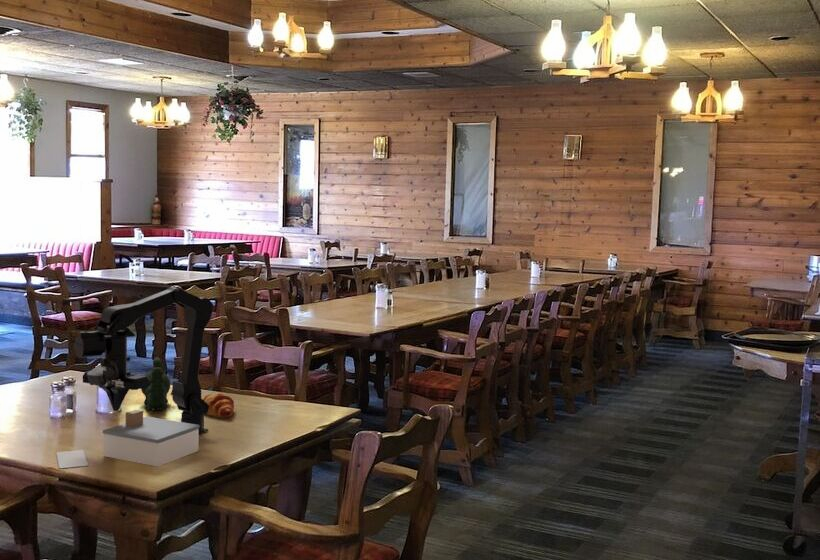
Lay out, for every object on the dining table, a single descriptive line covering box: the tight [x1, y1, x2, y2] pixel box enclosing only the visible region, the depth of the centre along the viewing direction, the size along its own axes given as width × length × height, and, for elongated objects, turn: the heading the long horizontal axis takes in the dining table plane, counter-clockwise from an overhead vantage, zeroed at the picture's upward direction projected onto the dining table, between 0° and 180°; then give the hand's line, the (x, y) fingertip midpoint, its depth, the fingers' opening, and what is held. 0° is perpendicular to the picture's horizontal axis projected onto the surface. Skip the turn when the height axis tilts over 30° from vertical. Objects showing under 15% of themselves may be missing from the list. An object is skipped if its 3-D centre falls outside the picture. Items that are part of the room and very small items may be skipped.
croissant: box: [202, 392, 235, 419], centre depth 274 cm, size 21×10×8 cm, turn 33°
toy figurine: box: [140, 356, 171, 412], centre depth 278 cm, size 9×19×25 cm
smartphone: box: [55, 449, 89, 470], centre depth 222 cm, size 7×1×15 cm
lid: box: [102, 409, 200, 443], centre depth 228 cm, size 17×18×4 cm
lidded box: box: [103, 429, 200, 467], centre depth 229 cm, size 16×18×6 cm
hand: (116, 410), depth 233 cm, fingers closed
